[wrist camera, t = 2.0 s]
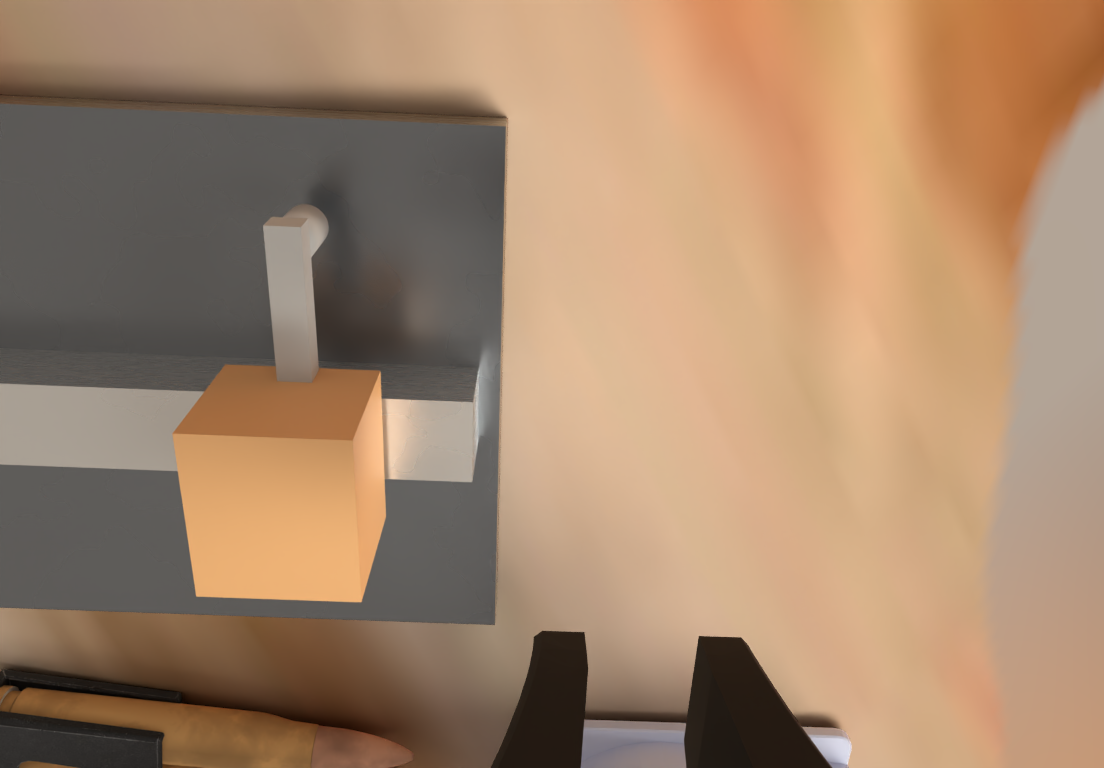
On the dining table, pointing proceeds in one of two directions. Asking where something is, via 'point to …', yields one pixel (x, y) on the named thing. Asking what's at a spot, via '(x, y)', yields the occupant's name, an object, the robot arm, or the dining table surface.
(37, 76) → the dining table surface
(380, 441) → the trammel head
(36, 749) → the ammunition clip
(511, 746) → the robot arm
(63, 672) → the dining table surface
